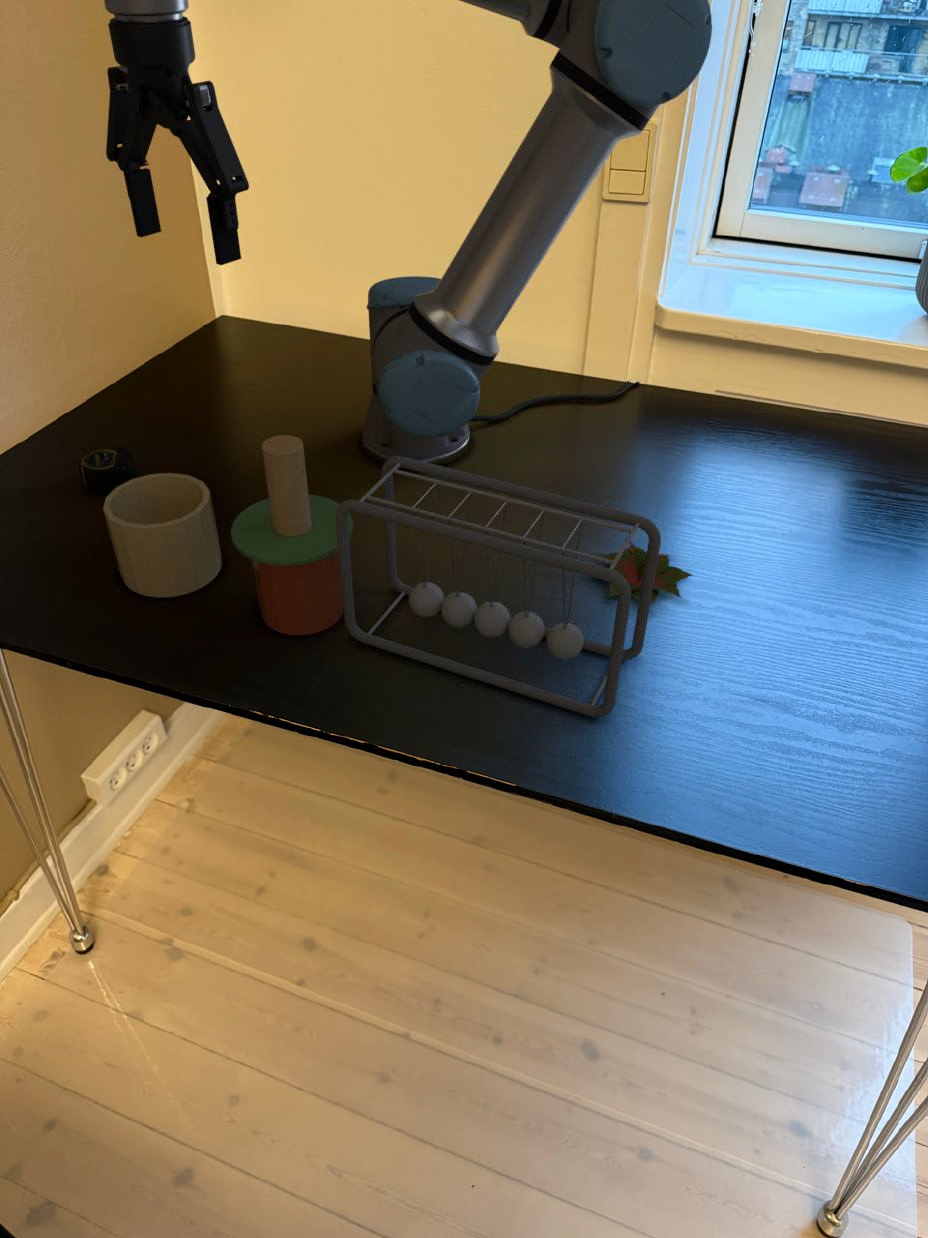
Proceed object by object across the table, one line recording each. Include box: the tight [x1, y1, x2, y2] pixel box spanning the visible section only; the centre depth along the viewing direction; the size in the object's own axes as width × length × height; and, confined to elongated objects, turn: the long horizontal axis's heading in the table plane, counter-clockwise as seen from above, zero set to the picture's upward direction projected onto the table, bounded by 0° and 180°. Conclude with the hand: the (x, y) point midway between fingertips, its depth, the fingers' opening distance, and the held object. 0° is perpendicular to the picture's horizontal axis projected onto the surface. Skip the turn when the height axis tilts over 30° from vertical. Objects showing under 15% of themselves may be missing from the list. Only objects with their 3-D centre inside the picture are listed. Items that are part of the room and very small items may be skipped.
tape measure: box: [78, 446, 136, 493], centre depth 126 cm, size 7×7×4 cm
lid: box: [230, 434, 354, 566], centre depth 97 cm, size 13×13×11 cm
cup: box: [251, 551, 344, 636], centre depth 104 cm, size 9×9×10 cm
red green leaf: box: [599, 541, 694, 606], centre depth 110 cm, size 12×12×5 cm
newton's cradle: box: [336, 456, 662, 718], centre depth 96 cm, size 30×10×18 cm, turn 65°
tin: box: [102, 472, 223, 599], centre depth 110 cm, size 11×11×10 cm
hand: (187, 247), depth 103 cm, fingers open, 13 cm apart
